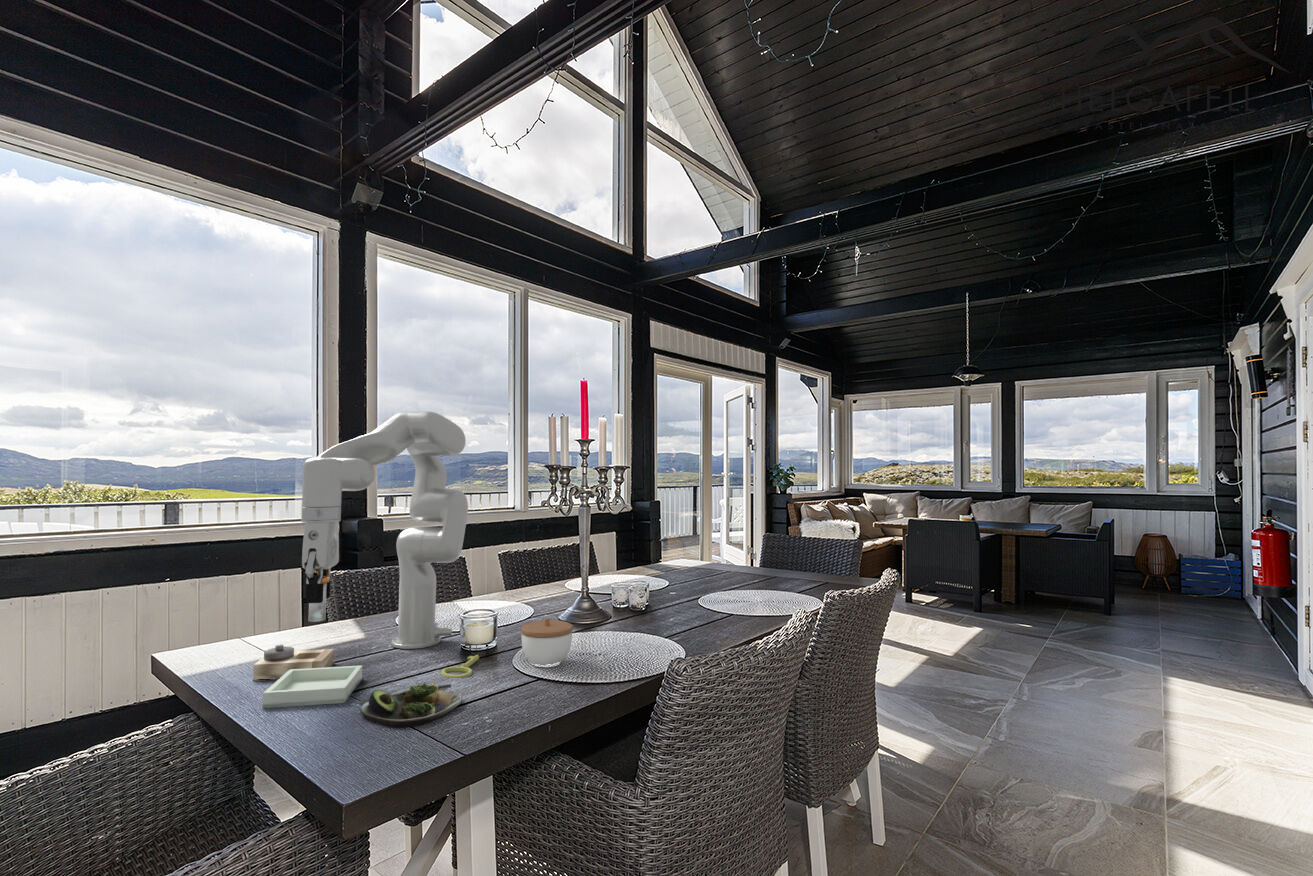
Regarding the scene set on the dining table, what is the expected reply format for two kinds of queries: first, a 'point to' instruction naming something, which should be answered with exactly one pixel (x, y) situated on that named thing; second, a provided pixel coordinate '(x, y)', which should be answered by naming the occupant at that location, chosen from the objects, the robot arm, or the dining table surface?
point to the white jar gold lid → (319, 605)
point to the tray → (313, 686)
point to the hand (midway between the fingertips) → (318, 599)
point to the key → (461, 668)
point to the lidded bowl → (546, 641)
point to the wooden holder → (290, 661)
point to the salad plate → (408, 705)
